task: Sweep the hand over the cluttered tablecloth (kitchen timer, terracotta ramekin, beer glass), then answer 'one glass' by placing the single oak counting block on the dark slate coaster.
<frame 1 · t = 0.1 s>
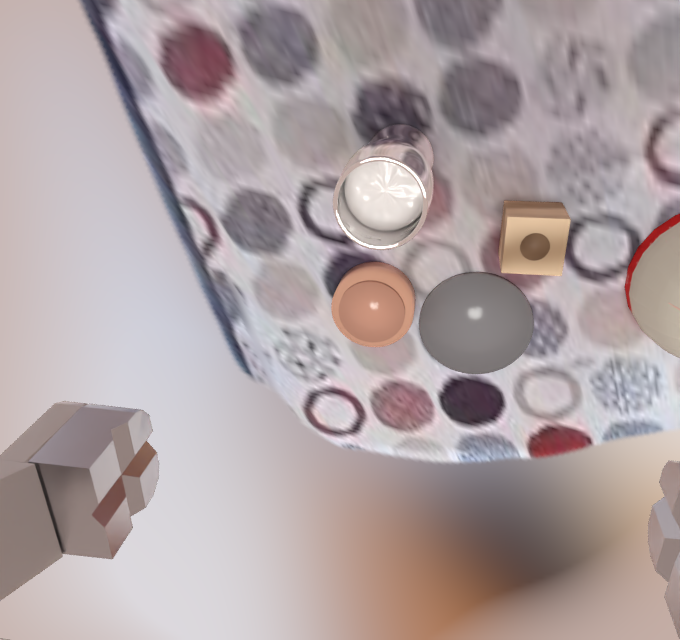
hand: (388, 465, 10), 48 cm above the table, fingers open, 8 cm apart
coaster: (475, 323, 61), on the table
beer glass: (399, 158, 55), on the table
oak block: (529, 228, 56), on the table
ramekin: (375, 298, 62), on the table
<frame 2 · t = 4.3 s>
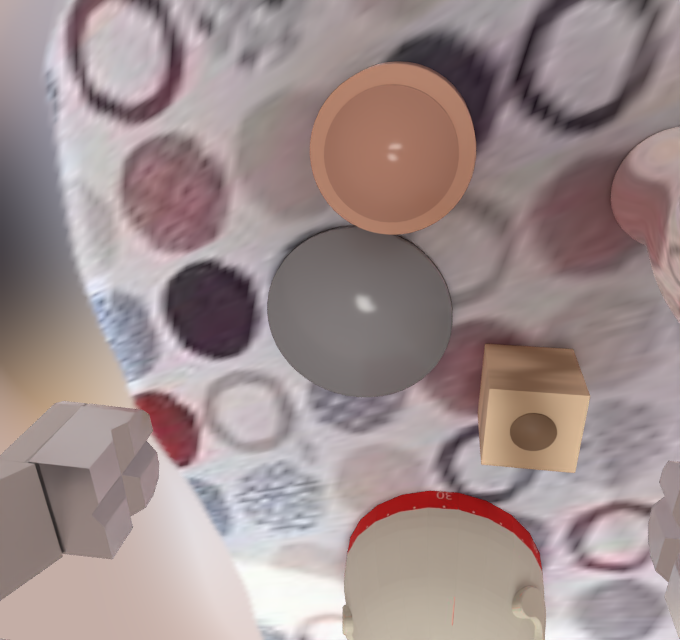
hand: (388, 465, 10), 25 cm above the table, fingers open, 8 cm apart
coaster: (358, 314, 37), on the table
kitchen timer: (442, 561, 45), on the table
beer glass: (673, 187, 31), on the table
oak block: (523, 381, 37), on the table
ramekin: (396, 143, 32), on the table
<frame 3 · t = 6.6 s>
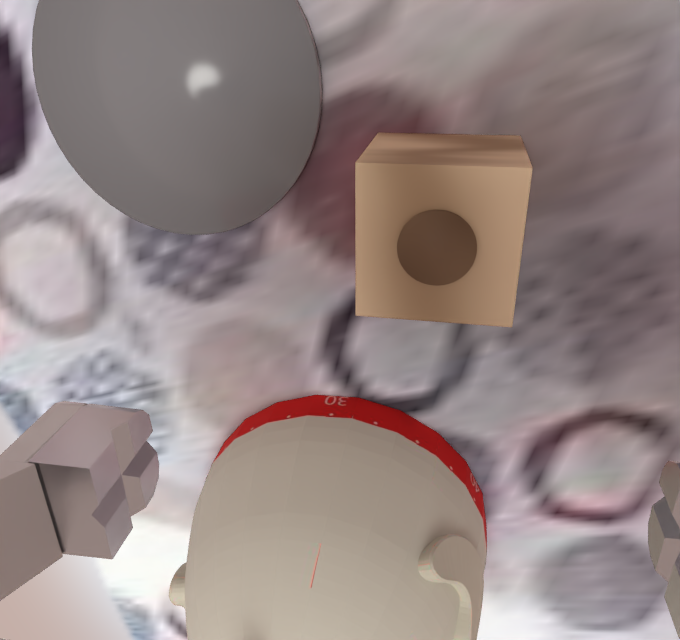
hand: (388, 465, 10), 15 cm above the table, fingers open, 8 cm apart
coaster: (178, 88, 23), on the table
kitchen timer: (345, 507, 31), on the table
oak block: (443, 202, 23), on the table
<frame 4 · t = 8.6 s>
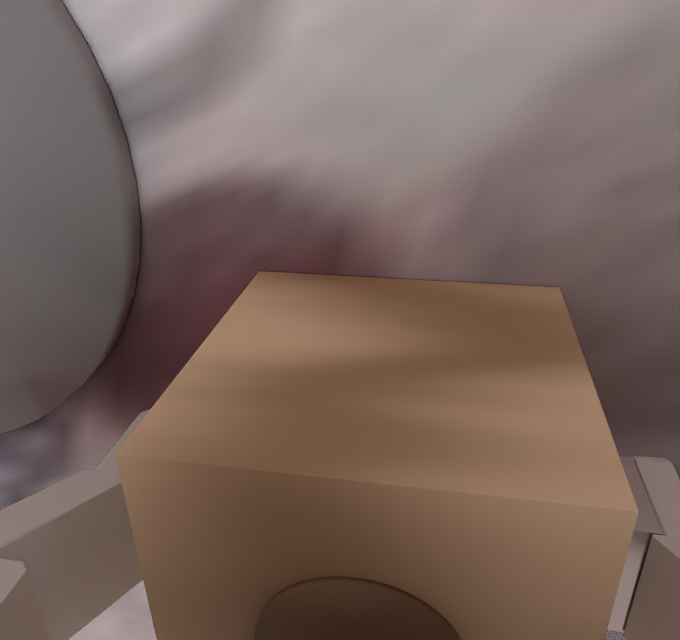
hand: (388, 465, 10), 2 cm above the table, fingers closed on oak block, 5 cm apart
oak block: (399, 403, 11), on the table, touching gripper
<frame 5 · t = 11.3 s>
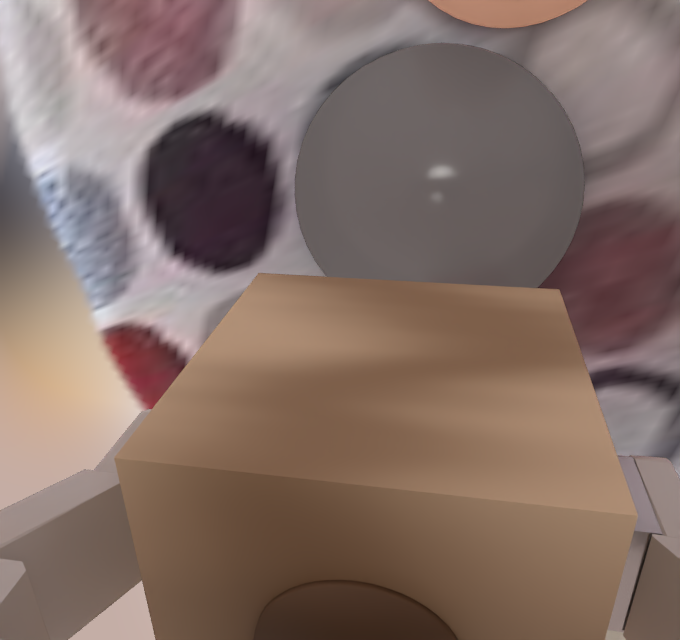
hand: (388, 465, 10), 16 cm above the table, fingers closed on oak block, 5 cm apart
coaster: (433, 195, 24), on the table
oak block: (398, 405, 11), point 15 cm above the table, touching gripper
when the fingers open (4 cm above the table, at t = 14.2 s): oak block drops 2 cm, resting on coaster.
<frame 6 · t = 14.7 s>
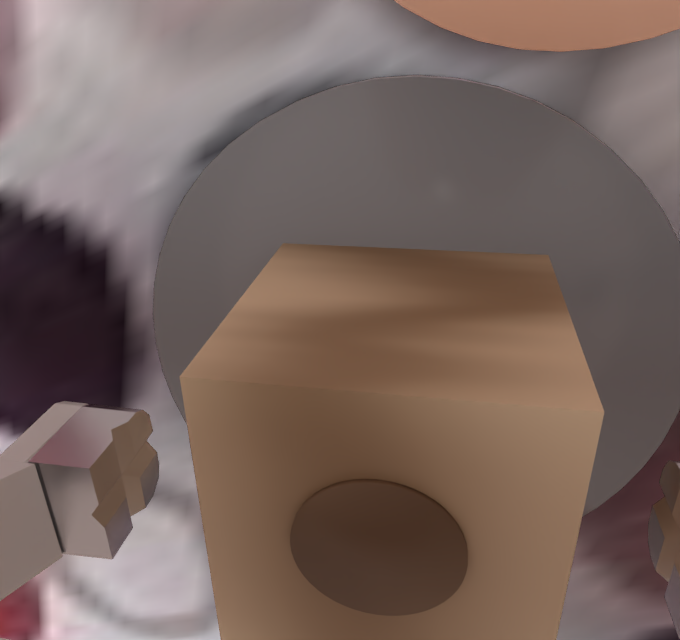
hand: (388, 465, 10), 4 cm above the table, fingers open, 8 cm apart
coaster: (405, 347, 13), on the table
oak block: (406, 362, 13), point 1 cm above the table, touching coaster
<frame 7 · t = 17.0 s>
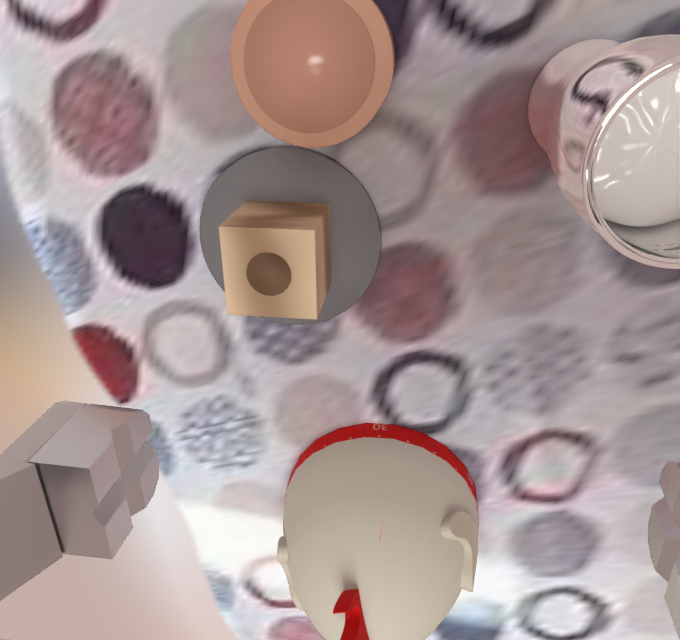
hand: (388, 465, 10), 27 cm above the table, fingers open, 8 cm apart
coaster: (290, 239, 37), on the table
kitchen timer: (381, 497, 45), on the table
beer glass: (587, 102, 32), on the table
oak block: (289, 242, 37), point 1 cm above the table, touching coaster
ramekin: (320, 60, 33), on the table
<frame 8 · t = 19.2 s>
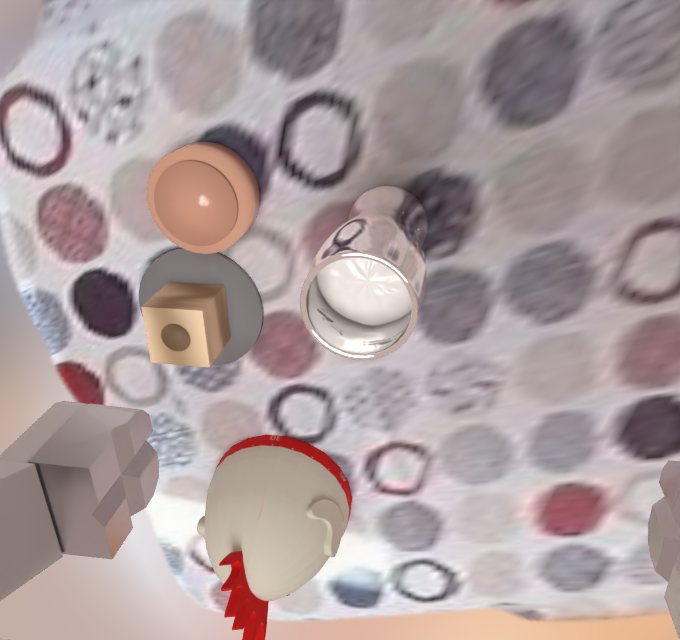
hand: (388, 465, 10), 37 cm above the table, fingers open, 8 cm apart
coaster: (202, 306, 53), on the table
kitchen timer: (283, 489, 61), on the table
beer glass: (388, 223, 47), on the table
oak block: (200, 310, 52), point 1 cm above the table, touching coaster
ramekin: (211, 192, 48), on the table
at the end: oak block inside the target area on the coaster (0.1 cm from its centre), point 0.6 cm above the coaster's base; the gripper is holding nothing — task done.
